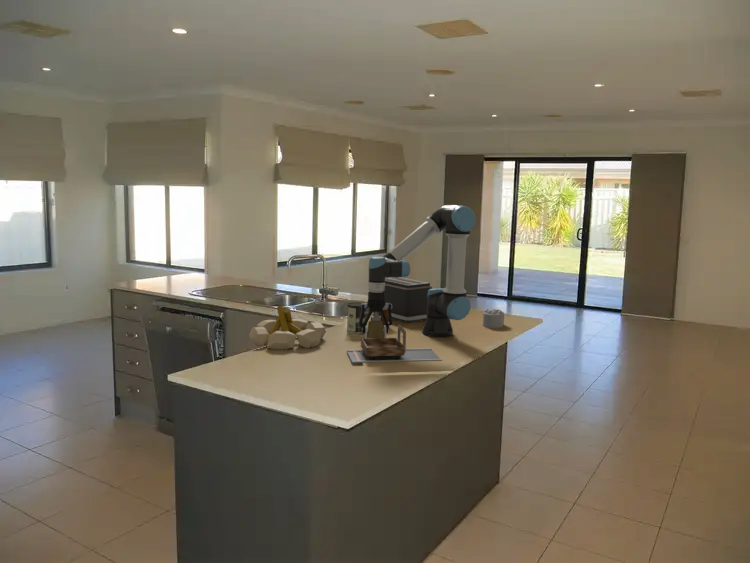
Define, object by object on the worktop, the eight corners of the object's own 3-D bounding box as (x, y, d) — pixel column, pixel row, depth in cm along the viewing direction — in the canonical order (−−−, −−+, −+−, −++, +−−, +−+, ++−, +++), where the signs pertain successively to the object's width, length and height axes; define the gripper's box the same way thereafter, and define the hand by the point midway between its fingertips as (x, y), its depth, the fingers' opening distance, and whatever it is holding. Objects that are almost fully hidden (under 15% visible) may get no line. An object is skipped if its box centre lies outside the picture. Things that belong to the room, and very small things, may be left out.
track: (431, 351, 280) (431, 348, 280) (441, 362, 263) (442, 359, 263) (347, 353, 274) (347, 350, 274) (352, 364, 256) (352, 361, 256)
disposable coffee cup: (370, 327, 324) (371, 304, 322) (377, 323, 333) (378, 301, 331) (387, 329, 321) (388, 306, 319) (394, 325, 329) (395, 303, 328)
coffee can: (369, 330, 319) (369, 302, 316) (364, 334, 309) (365, 306, 306) (349, 328, 321) (350, 301, 318) (344, 333, 311) (345, 305, 308)
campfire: (260, 331, 310) (260, 297, 308) (328, 333, 309) (329, 300, 307) (243, 350, 276) (243, 312, 273) (319, 352, 275) (320, 314, 272)
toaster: (392, 308, 375) (393, 275, 372) (433, 319, 348) (434, 283, 345) (367, 312, 363) (368, 277, 360) (407, 323, 336) (408, 286, 333)
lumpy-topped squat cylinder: (505, 324, 339) (506, 309, 338) (498, 329, 328) (499, 313, 327) (487, 322, 344) (488, 306, 343) (479, 326, 333) (480, 310, 332)
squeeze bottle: (371, 350, 280) (372, 310, 277) (363, 346, 287) (364, 307, 284) (387, 348, 283) (388, 309, 281) (378, 344, 290) (379, 306, 288)
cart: (398, 350, 277) (399, 324, 275) (406, 360, 261) (407, 332, 259) (360, 350, 274) (361, 324, 272) (366, 361, 258) (366, 333, 256)
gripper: (354, 292, 276) (353, 342, 279) (400, 292, 279) (399, 342, 283) (352, 289, 283) (351, 338, 286) (397, 289, 286) (396, 337, 290)
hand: (375, 340), depth 285 cm, fingers closed on squeeze bottle, 8 cm apart
